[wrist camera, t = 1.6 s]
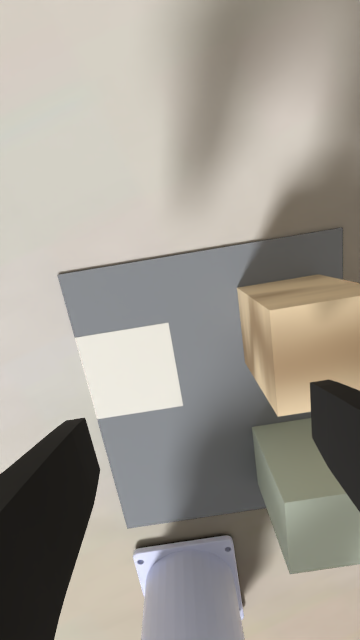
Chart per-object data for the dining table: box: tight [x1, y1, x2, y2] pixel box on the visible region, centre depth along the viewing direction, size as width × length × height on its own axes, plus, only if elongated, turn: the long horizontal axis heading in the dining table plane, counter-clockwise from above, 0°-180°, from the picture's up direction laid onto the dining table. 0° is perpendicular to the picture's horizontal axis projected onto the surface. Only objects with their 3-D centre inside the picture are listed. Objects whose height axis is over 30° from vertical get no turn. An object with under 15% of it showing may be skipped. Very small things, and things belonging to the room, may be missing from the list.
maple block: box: [237, 274, 360, 417], centre depth 15 cm, size 5×5×6 cm
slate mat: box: [58, 228, 343, 529], centre depth 19 cm, size 20×17×1 cm
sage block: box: [252, 418, 360, 574], centre depth 18 cm, size 5×5×6 cm
